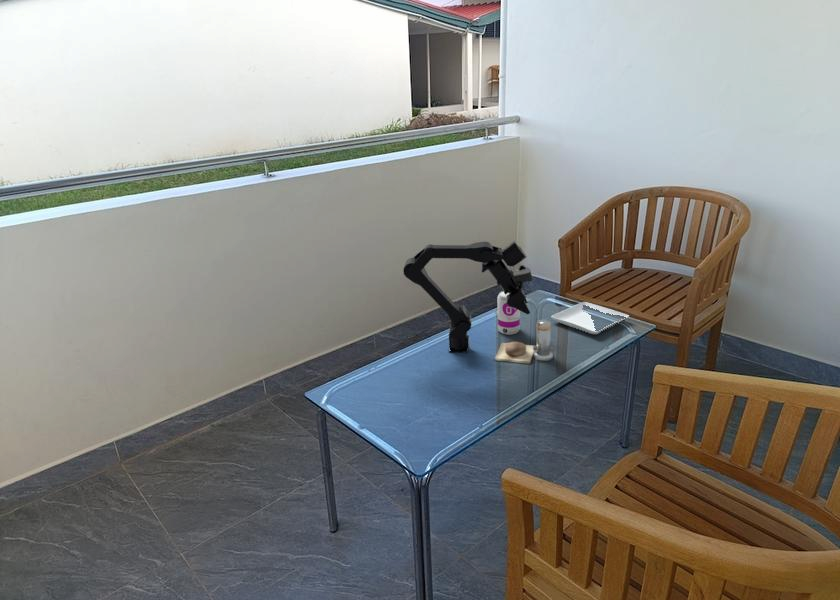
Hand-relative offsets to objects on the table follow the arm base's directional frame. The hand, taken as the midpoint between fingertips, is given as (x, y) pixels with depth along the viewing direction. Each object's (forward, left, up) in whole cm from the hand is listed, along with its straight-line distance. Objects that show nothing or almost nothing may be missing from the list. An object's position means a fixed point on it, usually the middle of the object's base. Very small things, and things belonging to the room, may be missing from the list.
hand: (527, 308), depth 207 cm
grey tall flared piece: (+5, -7, -15) cm, 17 cm away
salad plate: (+23, +22, -16) cm, 35 cm away
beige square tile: (-4, -6, -15) cm, 16 cm away
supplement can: (-7, +13, -15) cm, 21 cm away
